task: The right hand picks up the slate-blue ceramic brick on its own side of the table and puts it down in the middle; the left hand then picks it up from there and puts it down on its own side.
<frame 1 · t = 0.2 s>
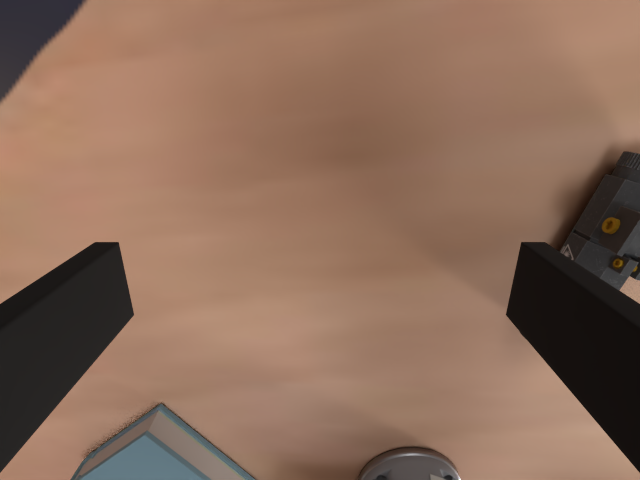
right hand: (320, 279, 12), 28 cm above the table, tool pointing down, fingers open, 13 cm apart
laser sight: (577, 244, 42), on the table
book: (181, 473, 56), on the table
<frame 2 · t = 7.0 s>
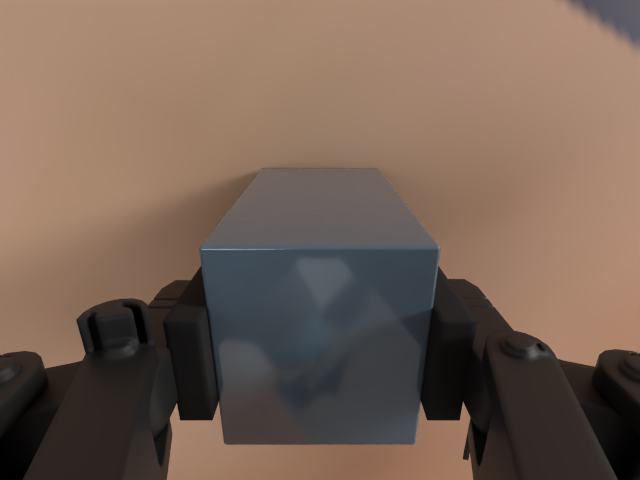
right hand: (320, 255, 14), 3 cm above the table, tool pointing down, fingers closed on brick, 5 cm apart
brick: (319, 229, 17), on the table, touching right hand
when the right hand's fingers open (5 cm above the table, at t = 12.3 s): brick drops 2 cm, on the table.
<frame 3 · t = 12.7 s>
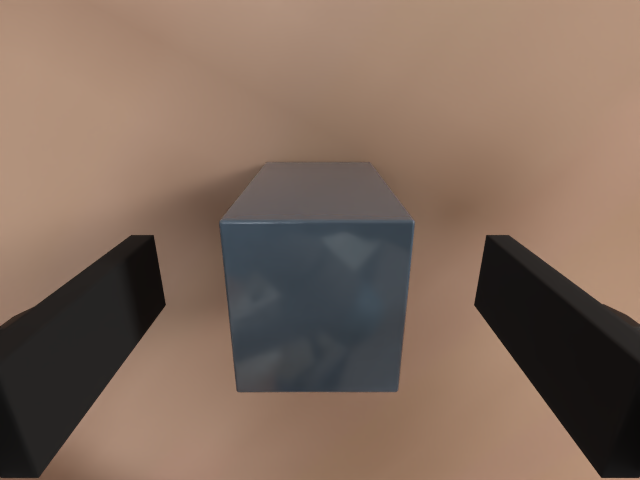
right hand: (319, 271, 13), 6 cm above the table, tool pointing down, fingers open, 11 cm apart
brick: (318, 218, 19), on the table
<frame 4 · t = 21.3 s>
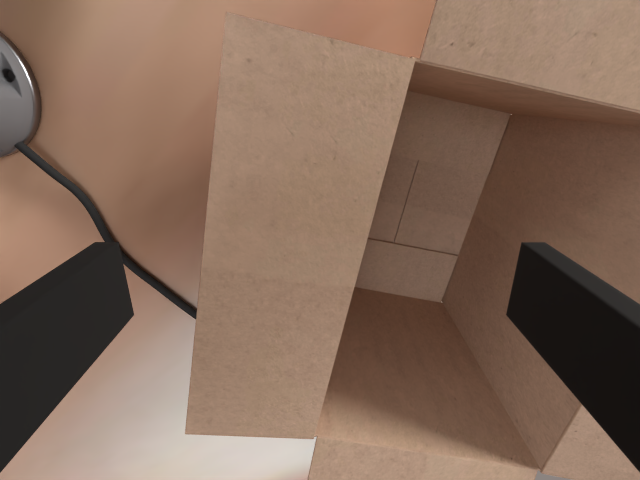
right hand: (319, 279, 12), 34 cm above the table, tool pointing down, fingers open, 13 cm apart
box: (405, 201, 47), on the table
when the left hand's fingers open (5 cm above the table, at t = 29.3 s): brick drops 2 cm, on the table.
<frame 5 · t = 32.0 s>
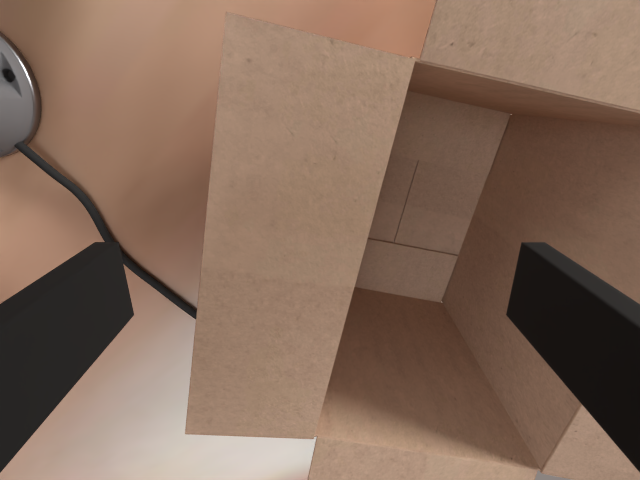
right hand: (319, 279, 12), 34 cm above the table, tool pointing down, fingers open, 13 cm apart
box: (405, 201, 47), on the table
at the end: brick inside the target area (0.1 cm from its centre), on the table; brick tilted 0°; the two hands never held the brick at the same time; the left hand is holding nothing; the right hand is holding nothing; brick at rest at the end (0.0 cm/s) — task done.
